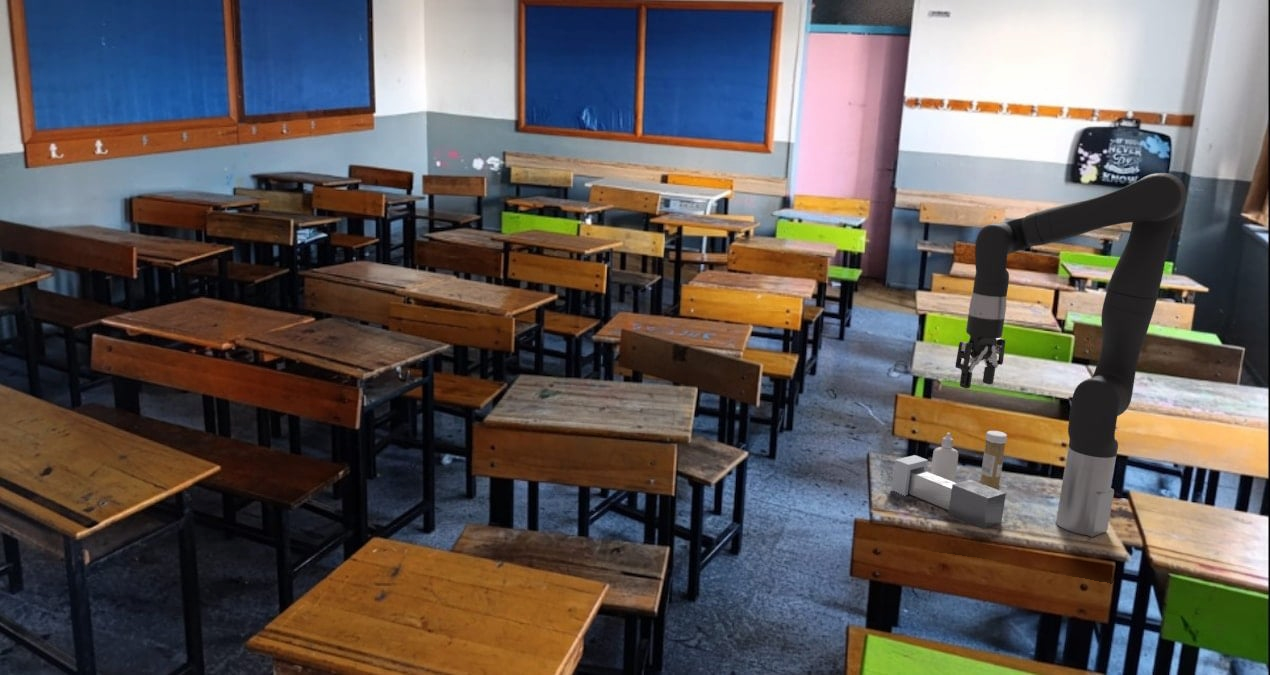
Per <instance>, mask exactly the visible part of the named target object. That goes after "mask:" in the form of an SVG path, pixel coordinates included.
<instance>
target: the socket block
mask: <svg viewBox="0 0 1270 675" xmlns="http://www.w3.org/2000/svg"><path fill="white" fill-rule="evenodd" d="M928 464H929V461H928V459H926V458H924V457H922V456H919V455H916V454H913V455H910V456H909V455H908V456H905V457H900V458H897V459H895V460H894V468H893V476H892V484H891V490H892V491H891V492H893V491H895V492H894V493H896V492H897V493H896V494H898V493H899V494H898V495H901V494H902V495H901V496H903V495H904V496H903V497H906V495H907V496H908V495H909V494H908V486H909V479H910V471H911V470H913V469H917V468H918V469H921V470H924V471H926V472H928Z"/></svg>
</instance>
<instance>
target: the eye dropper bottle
mask: <svg viewBox="0 0 1270 675" xmlns="http://www.w3.org/2000/svg"><path fill="white" fill-rule="evenodd" d="M941 440H942V441H941V446H938V447H936V448H934V449H933V451H932V452H933V453H932V459H931V466H930V473H931V474H934V475H937V476H939V477H942V478H944V479H947V480H950V481H952V482H955V483H956V474H957V470H958V464H959V463H958V461H959V452H958V450H957V449H955V448H953V445H954V439H953V438H952V437H951V433H950V432H947V433H946V435H945V436H944V437H942V439H941Z"/></svg>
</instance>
